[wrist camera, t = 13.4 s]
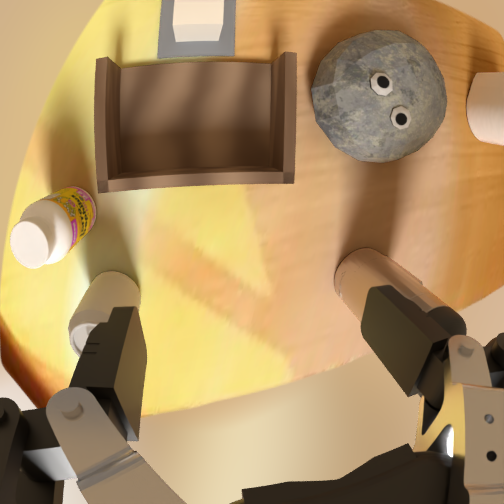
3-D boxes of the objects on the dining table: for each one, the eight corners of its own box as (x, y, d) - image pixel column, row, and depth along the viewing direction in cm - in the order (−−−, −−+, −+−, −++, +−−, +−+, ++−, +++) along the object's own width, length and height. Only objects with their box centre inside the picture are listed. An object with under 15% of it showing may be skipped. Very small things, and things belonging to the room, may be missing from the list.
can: (97, 314, 39) (74, 370, 28) (87, 268, 36) (55, 317, 25) (144, 315, 40) (133, 373, 29) (138, 267, 38) (120, 319, 27)
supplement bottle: (103, 229, 35) (66, 273, 23) (61, 239, 34) (16, 284, 22) (91, 179, 32) (44, 202, 20) (48, 192, 31) (-6, 220, 20)
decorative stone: (435, 131, 38) (481, 137, 29) (333, 183, 38) (373, 200, 29) (395, 28, 31) (439, 13, 21) (276, 62, 31) (304, 40, 22)
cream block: (219, 7, 26) (224, -14, 21) (218, 40, 28) (223, 23, 23) (178, 8, 26) (175, -13, 20) (175, 42, 28) (172, 25, 22)
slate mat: (235, -4, 26) (235, -5, 26) (233, 56, 30) (234, 55, 29) (162, -2, 25) (162, -4, 25) (157, 58, 28) (157, 57, 28)
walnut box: (279, 66, 31) (296, 52, 25) (277, 174, 36) (294, 183, 30) (113, 71, 28) (96, 58, 22) (114, 182, 33) (98, 193, 27)
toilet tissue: (480, 153, 41) (521, 163, 31) (454, 100, 36) (499, 101, 27) (500, 121, 39) (538, 127, 30) (476, 71, 34) (516, 70, 25)
